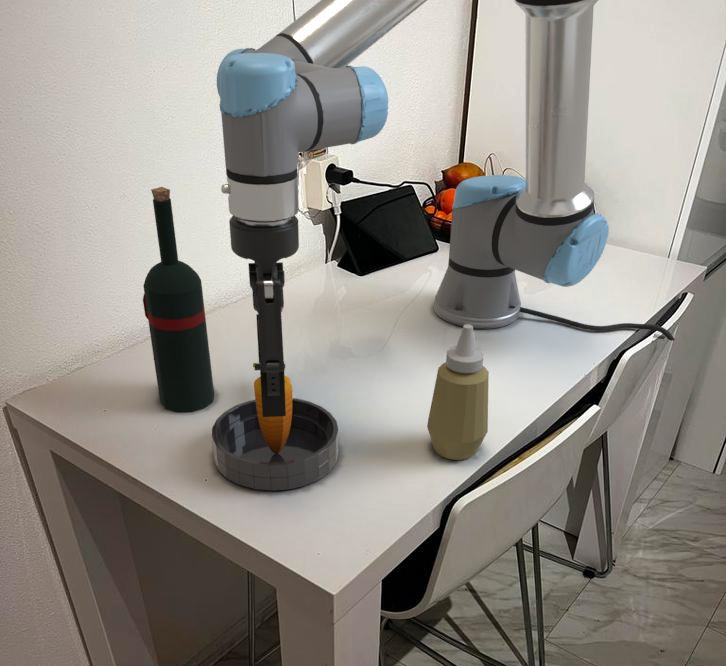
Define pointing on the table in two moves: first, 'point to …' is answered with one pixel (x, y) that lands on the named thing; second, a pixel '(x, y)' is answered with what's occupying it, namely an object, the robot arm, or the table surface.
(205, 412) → the table surface
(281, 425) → the carrot
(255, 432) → the pan
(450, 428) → the squeeze bottle
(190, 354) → the wine bottle
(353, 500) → the table surface
